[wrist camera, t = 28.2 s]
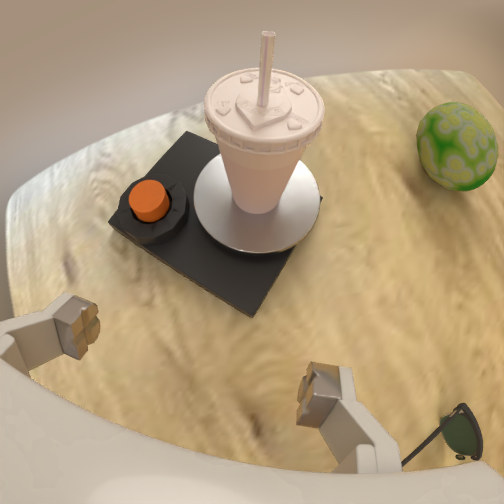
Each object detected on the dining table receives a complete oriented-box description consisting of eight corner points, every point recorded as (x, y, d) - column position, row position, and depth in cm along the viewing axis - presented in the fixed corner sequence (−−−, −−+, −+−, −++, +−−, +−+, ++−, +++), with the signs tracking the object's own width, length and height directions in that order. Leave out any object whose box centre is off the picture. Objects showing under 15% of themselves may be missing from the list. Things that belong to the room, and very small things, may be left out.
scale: (113, 228, 26) (100, 213, 23) (188, 139, 29) (184, 119, 26) (252, 318, 23) (253, 313, 20) (319, 204, 27) (327, 187, 24)
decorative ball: (415, 127, 32) (448, 72, 22) (472, 174, 30) (514, 129, 21) (390, 169, 29) (432, 106, 20) (457, 224, 27) (513, 178, 18)
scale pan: (169, 215, 23) (167, 211, 22) (237, 133, 26) (237, 128, 25) (281, 280, 21) (282, 278, 21) (337, 182, 24) (339, 178, 24)
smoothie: (203, 218, 22) (168, 55, 9) (229, 153, 24) (224, -1, 11) (287, 240, 22) (342, 84, 9) (303, 171, 24) (347, 21, 11)
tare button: (128, 212, 23) (121, 202, 22) (150, 185, 24) (144, 173, 23) (154, 229, 23) (148, 219, 21) (176, 200, 24) (172, 189, 22)
